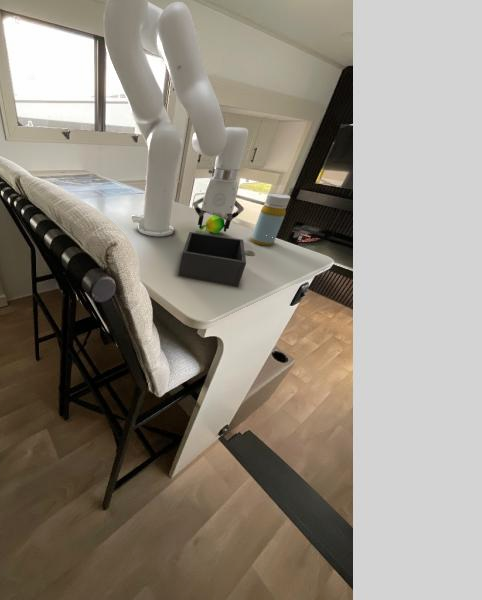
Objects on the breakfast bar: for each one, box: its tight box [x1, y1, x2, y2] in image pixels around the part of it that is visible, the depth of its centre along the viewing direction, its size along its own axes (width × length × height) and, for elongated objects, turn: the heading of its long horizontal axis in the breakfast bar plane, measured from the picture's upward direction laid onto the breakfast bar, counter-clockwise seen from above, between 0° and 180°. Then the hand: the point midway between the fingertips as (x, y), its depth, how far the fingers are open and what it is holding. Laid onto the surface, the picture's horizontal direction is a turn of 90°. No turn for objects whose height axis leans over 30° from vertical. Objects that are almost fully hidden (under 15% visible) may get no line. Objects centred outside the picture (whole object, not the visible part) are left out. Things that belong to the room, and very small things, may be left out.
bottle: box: [251, 192, 291, 247], centre depth 80 cm, size 7×7×15 cm
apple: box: [198, 214, 225, 235], centre depth 89 cm, size 7×6×9 cm
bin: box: [177, 231, 247, 288], centre depth 66 cm, size 15×15×7 cm
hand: (212, 228), depth 89 cm, fingers closed on apple, 8 cm apart
